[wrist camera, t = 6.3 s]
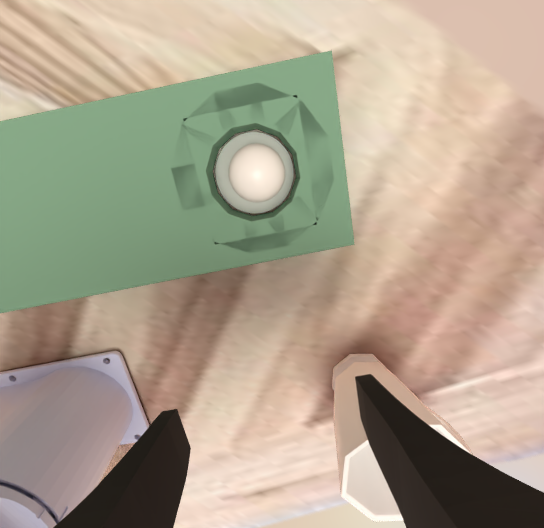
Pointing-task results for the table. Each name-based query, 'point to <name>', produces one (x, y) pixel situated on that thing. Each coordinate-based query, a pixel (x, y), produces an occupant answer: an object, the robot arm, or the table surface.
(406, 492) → the robot arm
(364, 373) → the cup
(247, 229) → the putting strip
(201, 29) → the table surface
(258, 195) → the ball
